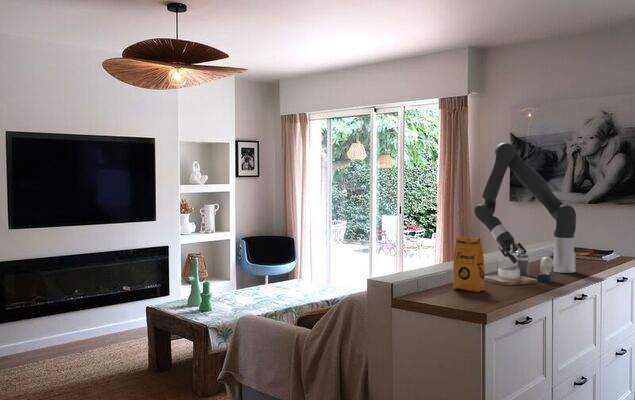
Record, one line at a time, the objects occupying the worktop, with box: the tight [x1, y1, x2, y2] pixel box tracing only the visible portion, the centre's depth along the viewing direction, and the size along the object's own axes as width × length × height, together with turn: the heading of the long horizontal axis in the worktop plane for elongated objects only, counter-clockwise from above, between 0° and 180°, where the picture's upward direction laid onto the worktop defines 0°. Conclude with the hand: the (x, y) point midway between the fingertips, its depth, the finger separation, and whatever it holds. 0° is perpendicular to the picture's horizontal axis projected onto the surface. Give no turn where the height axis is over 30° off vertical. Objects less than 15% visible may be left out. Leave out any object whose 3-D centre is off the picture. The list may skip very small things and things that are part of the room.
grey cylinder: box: [516, 253, 530, 278], centre depth 272 cm, size 5×5×10 cm
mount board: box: [485, 274, 538, 286], centre depth 258 cm, size 18×16×2 cm
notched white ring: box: [497, 267, 520, 280], centre depth 258 cm, size 9×9×4 cm
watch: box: [536, 256, 555, 284], centre depth 258 cm, size 6×8×11 cm
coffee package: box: [452, 236, 486, 293], centre depth 238 cm, size 10×12×22 cm
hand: (521, 261), depth 273 cm, fingers open, 8 cm apart
